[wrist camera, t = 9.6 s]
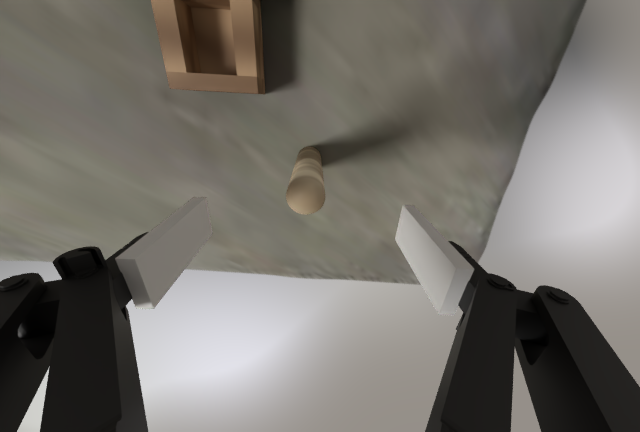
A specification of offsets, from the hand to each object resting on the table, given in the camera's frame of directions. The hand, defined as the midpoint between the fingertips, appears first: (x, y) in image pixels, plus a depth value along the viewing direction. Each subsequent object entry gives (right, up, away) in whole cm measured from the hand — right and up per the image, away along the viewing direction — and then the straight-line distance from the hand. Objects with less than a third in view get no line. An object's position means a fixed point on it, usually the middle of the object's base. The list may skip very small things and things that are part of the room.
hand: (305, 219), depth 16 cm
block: (-10, +19, +10) cm, 24 cm away
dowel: (0, +8, +16) cm, 18 cm away
